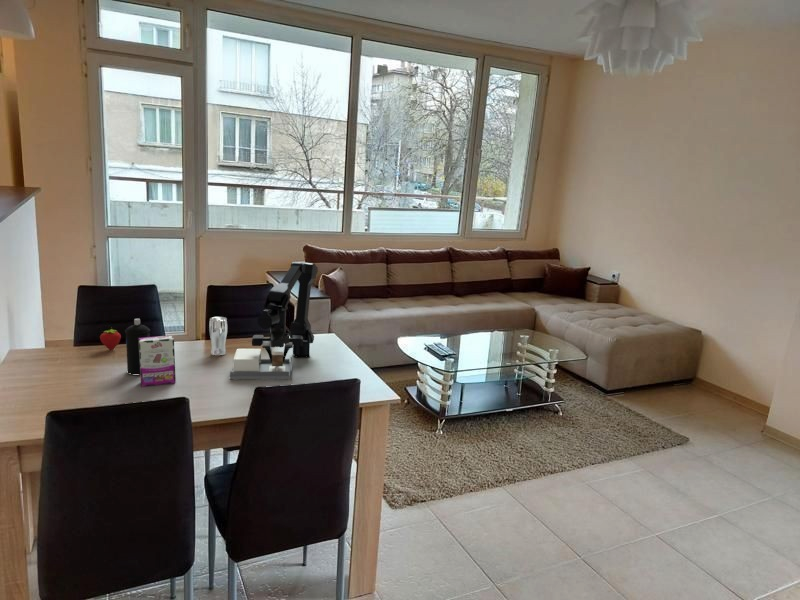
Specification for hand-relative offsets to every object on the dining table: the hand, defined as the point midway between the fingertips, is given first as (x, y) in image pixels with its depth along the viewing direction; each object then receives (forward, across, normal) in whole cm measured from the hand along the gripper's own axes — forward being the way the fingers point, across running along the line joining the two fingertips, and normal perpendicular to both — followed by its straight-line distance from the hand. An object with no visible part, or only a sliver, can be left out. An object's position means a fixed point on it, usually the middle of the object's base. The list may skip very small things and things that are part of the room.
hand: (277, 361), depth 204 cm
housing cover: (+2, -11, 0) cm, 11 cm away
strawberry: (+4, -67, +26) cm, 72 cm away
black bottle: (+4, -50, 0) cm, 50 cm away
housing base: (+4, -6, 0) cm, 7 cm away
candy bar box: (+4, -40, -10) cm, 42 cm away
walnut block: (+1, 0, 0) cm, 1 cm away
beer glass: (+4, -24, +21) cm, 33 cm away
